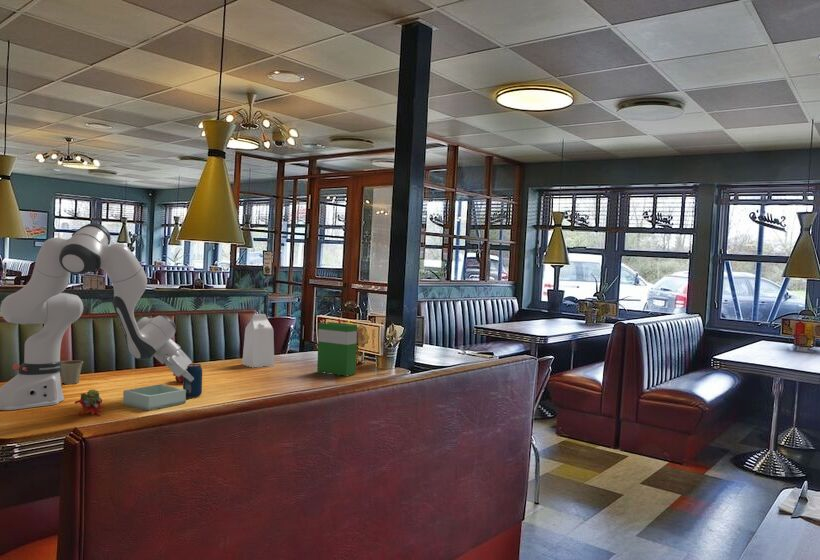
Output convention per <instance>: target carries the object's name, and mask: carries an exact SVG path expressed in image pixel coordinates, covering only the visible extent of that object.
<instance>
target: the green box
mask: <svg viewBox="0 0 820 560" xmlns="http://www.w3.org/2000/svg"><path fill="white" fill-rule="evenodd" d="M357 336H358V324H354V323H351V324H350V323H346V322H345V323H343V322H342V323H341V322H335V321H333V322H332V321H327V322H318V334H317V337H318V339H317V365H316V369H317V370H316V371H318V372H317V373H320V372H325V373H324V374H327V373H332V374H331V375H333V374H337V375H336V376H340V375H344V376H343V377H348V376H347V375H351V376H353V375H352V374H355V375H356V373H357V372H356V371H357V366H356V365H357V343H358V337H357Z"/></svg>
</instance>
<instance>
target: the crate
mask: <svg viewBox="0 0 820 560" xmlns="http://www.w3.org/2000/svg"><path fill="white" fill-rule="evenodd" d="M122 395H123V398H122V400H123V402H122V405H124V404H125V406H128V407H132V406H133V408H137V409H140V408H141V409H140V410H143V409H145V410H144V411H147V410H150V411H154V410H153V409H155V410H159V409H158V408H160V409H165V408H169V407H168V406H170V407H174V406H173V405H175V406H179V405H178V404H180V405H184V403H185V404H186V402H187V401H186V399H187V397H186V390H184V389H183V388H179V387H175V386H170V385H165V384H160V383H159V384H155V385H150V386H142V387H137V388H136V387H135V388H131V389H124V390H123V394H122ZM164 407H165V408H164Z"/></svg>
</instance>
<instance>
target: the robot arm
mask: <svg viewBox="0 0 820 560" xmlns="http://www.w3.org/2000/svg"><path fill="white" fill-rule="evenodd" d="M110 243H111V233H110V231H109V229H107V227H105V226H104V225H102V224H101V223H96V222H91V223H86V224H85V225H84V226H81V227H80V228H79V229H77V230H76V231H74V232H73V233H72V234H71V237H70V238H68V239H66V238H65V239H64V238H62V237H51V238H48V239H46V240H45V241H44V242H43V244H42V246H41V247H40V249H39V251H38V253H37V257H36V259H35V263H34V267H33V271H32V274H31V277H30V279H29V281H28V282H27V283H26V284H25V285H24V286H23V287H22V288H20V289H18V290H17V291H16V292H13V293H11V294H9V295H7V296H6V297H5V298H4V299H3V300H2V301H1V304H0V314H1V316H2V318H3V319H4V321H6V322H7V323H10V324H17V325H37V324H38V325H39V324H44V325H43V327H42V328H41V330H40V331H38V332H37V333H34V334H32V335H31V336H29V337H28V338H26V340H25V342H24V353H23V354H24V361H23V362H22V363H21V364H18V363H14V364H13V366H12V369H13V370H15V371H18V373H17V374H16V375H15V376H14V377H13V378H10V380H8V381H7V382H5V384H3V385H1V387H0V411H1V410H2V411H14V410H15V411H16V410H23V409H31V408H38V407H45V406H53V405H58V404H59V403H60V402H62V401H64V400H65V396H64V392H63V388H62V381H61V362H62V360H61V347H62V340H63V337H64V335H65V333H66V332H67V330H68V329H69V328H70V326H71V325H72V324H74V323H75V322H76V321H78V320H79V319H80V317H82V314H83V312H84V304H83V303H84V302H83V301H82V299H81V297H80V296H78V295H77V294H72V293H67V292H64V291H65V290H66V288H67V287H68V284H69V280H70V279H71V278H70V277H71V274H74V275H84V274H88V273H94V274H95V273H96V272H98V271H99V270H100V269H101V270H102V271H104V272H105V273H106V275H107V277H108V279H109V281H111V282H110V283H111V284H112V287H113V288H112V289H113V299H112V307H113V310H114V312H115V315H116V317H117V318H116V319H117V320H118V323H119V326H120V327H121V328H120V329H121V330H122V333H123V336H124V338H125V342H126V348H127V351H128V352H129V353H130V355H131V356H133V358H135V359H137V360H144V361H145V360H151V358H152V357H154V358H155V359H156V360H157V361H158V362H159V363H161V364H162V365H164V364H165V366H166V367H167V368H168V369H169V370H170V371H171V372H172V373H173V374H175V375H176V376H178V377H179V376H180V375H182V376H183V377H185V378H187V379H188V380H189V381H190V382H192V381H193V380H194V377H193V376H192V375H191V374H189V373H188V371H187V370H186V369H187V368H188V367H187V366H188V365H189V364H193V363H192V360H191V359H190V357H189V356H188V355H187V354H186V353H185V352H184V351H183V349H181V346H180V344H178V343H176V341H174V340H173V339H172V338H173V337H174V335H175V334H176V333H177V327H176V323H175V322H174V320H173V319H172V318H170V317H169V316H167V315H162V314H161V315H157V316H155V317H154V316H153V317H150V318H149V317H147V316H144V317H141V318H140V319H138V320H137V321H136V318H135V308H136V306H137V304H138V302H139V301H140V298H142V296H143V294H144V293H145V291H146V289H147V286H148V278H147V274H146V272H145V270H144V268H143V267H142V264H141V263H140V261H139V260H138V259H137V257H136V256H135V254H134V252H133V251H131V249H130V248H129V247H128V246H127V245H126V244H124V243H120V242H119V243H112V244H110Z"/></svg>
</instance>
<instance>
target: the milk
mask: <svg viewBox="0 0 820 560" xmlns="http://www.w3.org/2000/svg"><path fill="white" fill-rule="evenodd" d="M274 331H275V330H274V328H273V326H272V325H271V323H270V321H269V319H268V317H267V315H266V314H265V313H257V314H256V313H255V314H253V315H252V318H251V320H250V321H249V322H248V324H247V325H246V327H245V330H244V339H243V348H242V349H243V351H242V363H241V365H242V364H243V366H245V365H246V366H245V367H248V366H249V368H251V367H252V369H254V368H253V367H257V368H264V367H263V366H268V367H274V366H275V342H274V341H275V339H274V337H275V336H274V335H275V334H274Z"/></svg>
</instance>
